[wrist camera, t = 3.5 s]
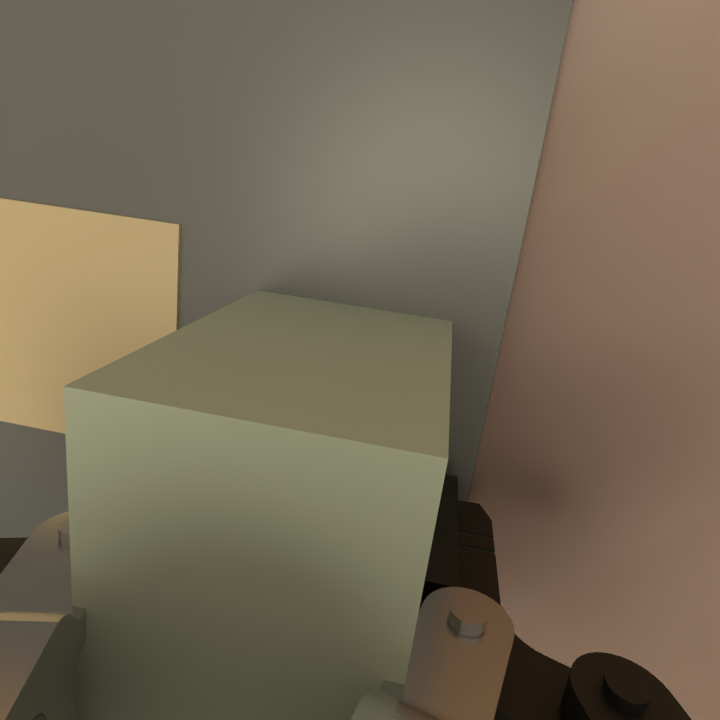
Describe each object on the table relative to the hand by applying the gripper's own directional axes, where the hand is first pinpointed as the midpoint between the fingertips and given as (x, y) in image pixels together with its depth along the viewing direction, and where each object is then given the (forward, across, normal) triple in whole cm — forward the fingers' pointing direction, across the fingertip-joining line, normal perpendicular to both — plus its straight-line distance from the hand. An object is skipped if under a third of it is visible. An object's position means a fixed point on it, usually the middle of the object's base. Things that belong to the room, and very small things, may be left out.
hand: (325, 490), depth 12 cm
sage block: (0, 0, 0) cm, 0 cm away
